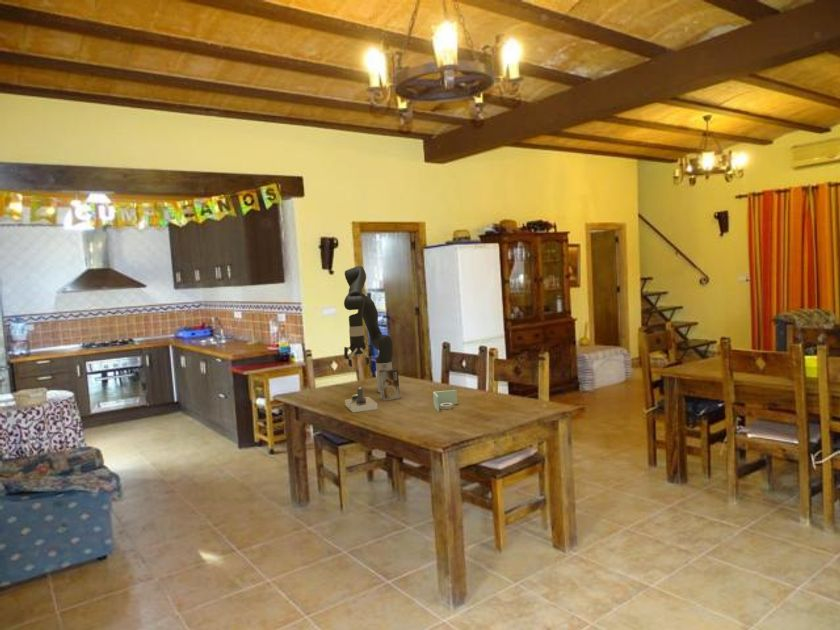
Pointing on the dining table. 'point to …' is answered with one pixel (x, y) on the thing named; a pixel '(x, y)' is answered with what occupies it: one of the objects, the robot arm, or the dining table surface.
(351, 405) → the levelling base
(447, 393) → the right angle wall
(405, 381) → the dining table surface
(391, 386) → the coffee box
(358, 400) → the wing knob
